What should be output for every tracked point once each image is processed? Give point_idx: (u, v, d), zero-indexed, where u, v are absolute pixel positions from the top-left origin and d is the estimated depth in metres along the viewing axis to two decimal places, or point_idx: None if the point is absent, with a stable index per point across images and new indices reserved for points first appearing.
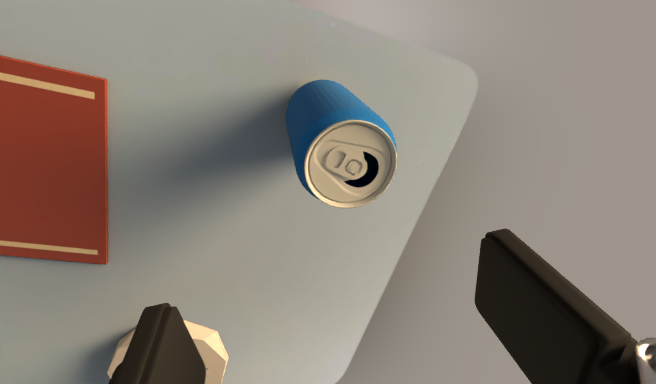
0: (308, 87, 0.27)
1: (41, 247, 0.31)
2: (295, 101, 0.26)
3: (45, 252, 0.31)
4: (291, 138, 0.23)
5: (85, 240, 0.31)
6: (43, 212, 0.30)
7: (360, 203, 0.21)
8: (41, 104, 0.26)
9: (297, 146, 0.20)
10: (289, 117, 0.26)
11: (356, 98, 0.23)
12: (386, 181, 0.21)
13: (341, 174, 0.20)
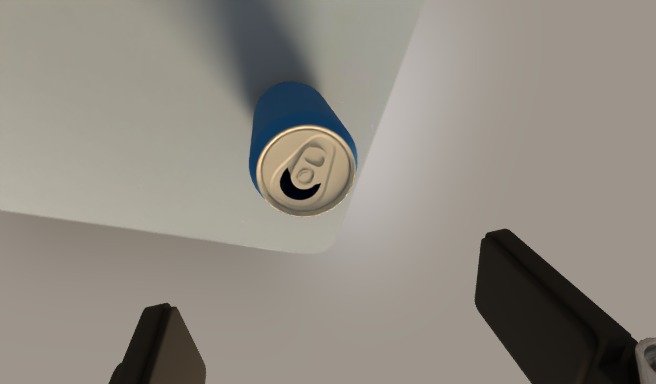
0: None
1: None
2: (320, 96, 0.26)
3: None
4: (305, 99, 0.21)
5: None
6: None
7: (260, 188, 0.19)
8: None
9: (321, 113, 0.19)
10: (307, 90, 0.24)
11: None
12: (287, 210, 0.20)
13: (297, 164, 0.19)
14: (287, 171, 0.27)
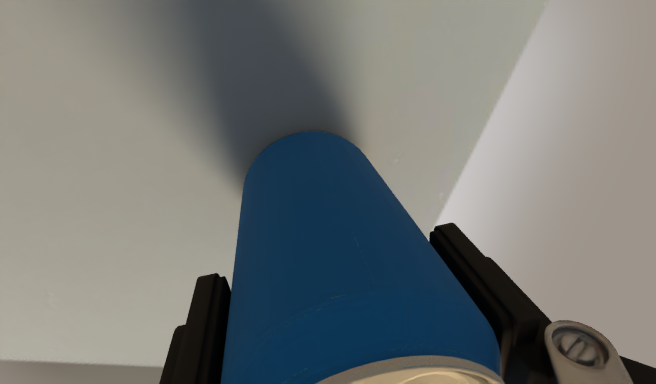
0: None
1: None
2: (368, 165, 0.13)
3: None
4: (359, 206, 0.09)
5: None
6: None
7: None
8: None
9: (425, 291, 0.06)
10: (348, 160, 0.12)
11: None
12: None
13: None
14: None
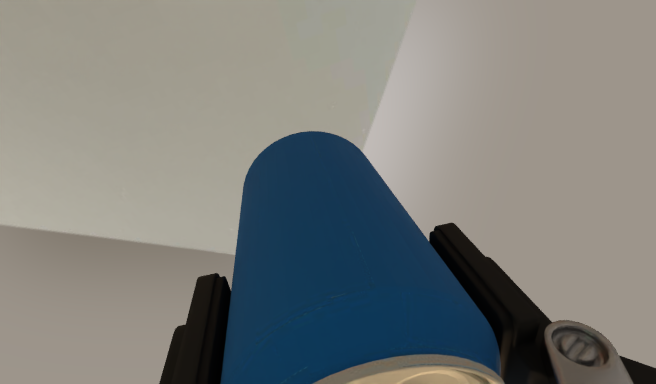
0: None
1: None
2: (368, 164, 0.13)
3: None
4: (358, 206, 0.09)
5: None
6: None
7: None
8: None
9: (425, 290, 0.06)
10: (348, 160, 0.12)
11: None
12: None
13: None
14: None
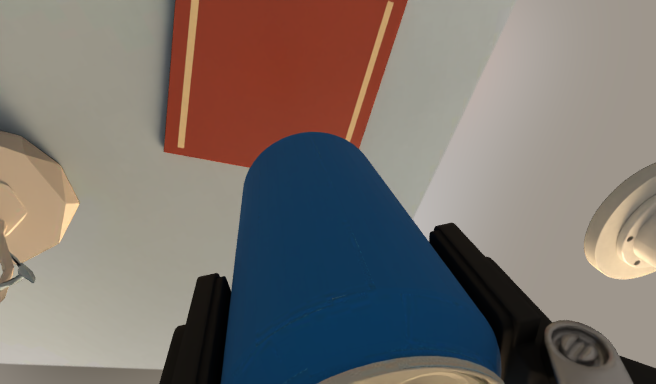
0: None
1: (185, 98, 0.29)
2: (368, 165, 0.13)
3: (177, 99, 0.29)
4: (359, 207, 0.09)
5: (196, 140, 0.31)
6: (230, 113, 0.30)
7: None
8: None
9: (425, 291, 0.06)
10: (348, 161, 0.12)
11: None
12: None
13: None
14: None
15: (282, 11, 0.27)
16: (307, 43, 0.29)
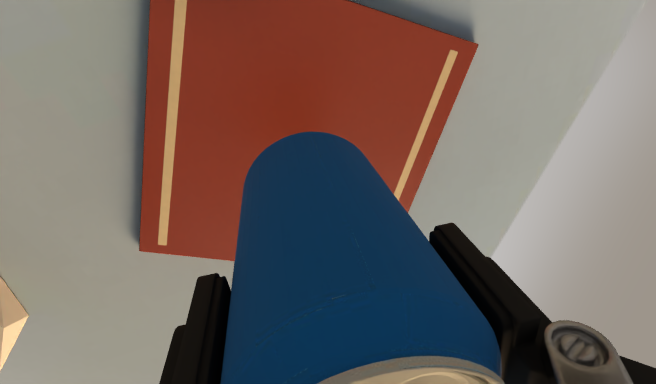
0: None
1: (166, 185, 0.21)
2: (368, 165, 0.13)
3: (156, 187, 0.21)
4: (359, 206, 0.09)
5: (183, 235, 0.23)
6: (229, 200, 0.22)
7: None
8: None
9: (425, 291, 0.06)
10: (348, 160, 0.12)
11: None
12: None
13: None
14: None
15: (302, 68, 0.19)
16: (336, 108, 0.20)
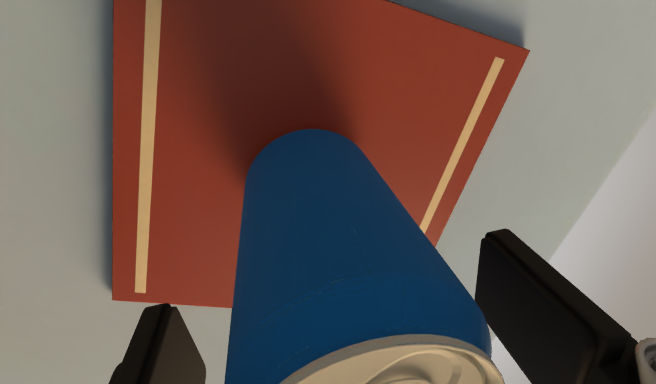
0: None
1: (142, 224, 0.17)
2: (366, 161, 0.14)
3: (130, 226, 0.17)
4: (357, 199, 0.09)
5: (165, 280, 0.19)
6: (220, 239, 0.18)
7: None
8: None
9: (419, 276, 0.07)
10: (346, 156, 0.13)
11: None
12: None
13: None
14: None
15: (311, 80, 0.15)
16: (353, 130, 0.17)
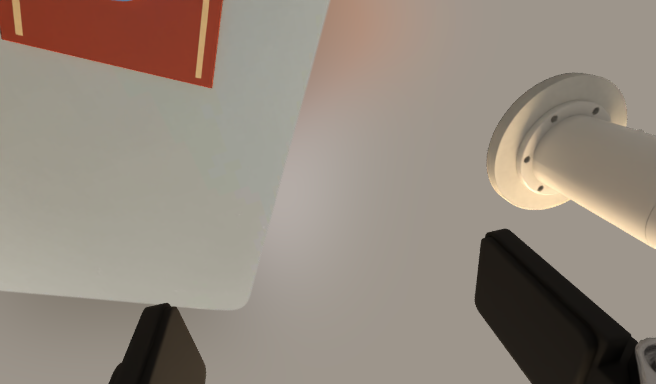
0: None
1: None
2: None
3: None
4: None
5: (34, 27, 0.30)
6: None
7: None
8: (185, 35, 0.32)
9: None
10: None
11: None
12: None
13: None
14: None
15: None
16: None
